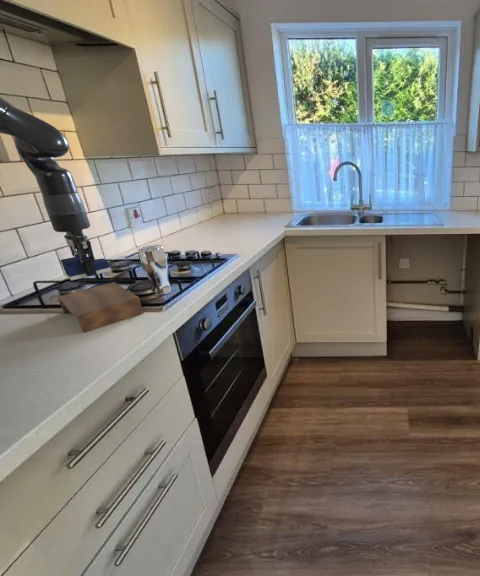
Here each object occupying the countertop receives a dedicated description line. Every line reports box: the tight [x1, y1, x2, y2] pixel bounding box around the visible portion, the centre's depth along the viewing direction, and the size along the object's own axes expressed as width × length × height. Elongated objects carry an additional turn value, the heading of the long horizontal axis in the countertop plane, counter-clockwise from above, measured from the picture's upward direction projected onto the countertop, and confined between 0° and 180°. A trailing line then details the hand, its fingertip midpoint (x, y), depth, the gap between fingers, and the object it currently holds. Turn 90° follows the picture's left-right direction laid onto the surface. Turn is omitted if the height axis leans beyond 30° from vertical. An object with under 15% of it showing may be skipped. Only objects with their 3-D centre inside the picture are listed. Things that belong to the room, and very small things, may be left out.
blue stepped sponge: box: [60, 256, 112, 281], centre depth 98 cm, size 9×4×5 cm, turn 141°
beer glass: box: [137, 244, 174, 295], centre depth 114 cm, size 7×7×15 cm
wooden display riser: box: [57, 281, 145, 334], centre depth 103 cm, size 14×20×5 cm
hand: (89, 273), depth 99 cm, fingers closed on blue stepped sponge, 4 cm apart
